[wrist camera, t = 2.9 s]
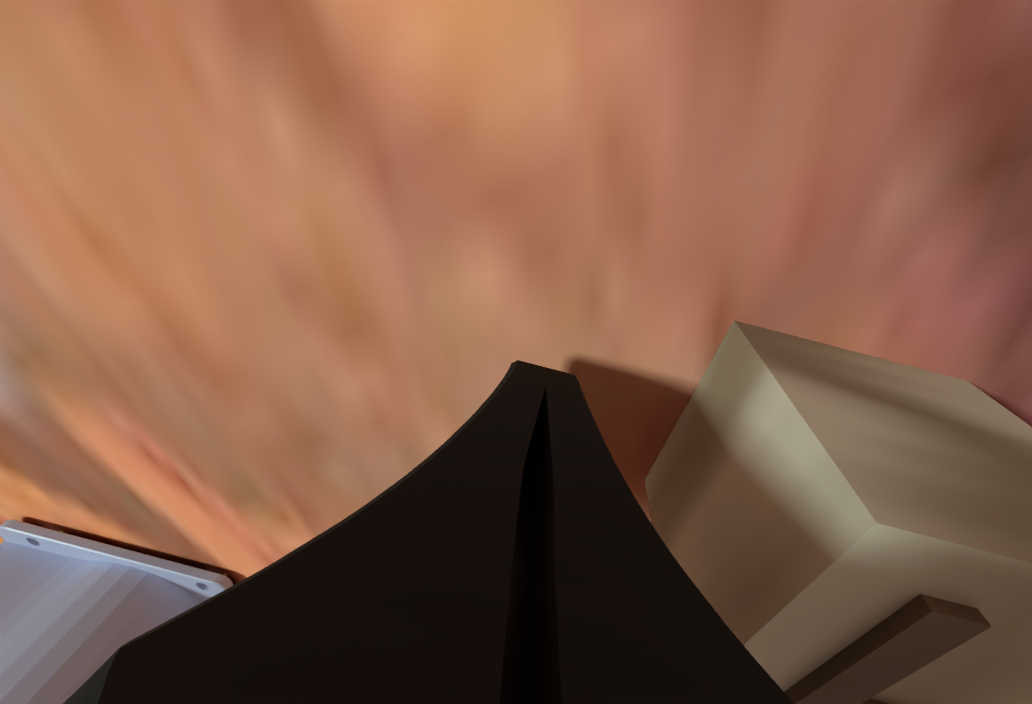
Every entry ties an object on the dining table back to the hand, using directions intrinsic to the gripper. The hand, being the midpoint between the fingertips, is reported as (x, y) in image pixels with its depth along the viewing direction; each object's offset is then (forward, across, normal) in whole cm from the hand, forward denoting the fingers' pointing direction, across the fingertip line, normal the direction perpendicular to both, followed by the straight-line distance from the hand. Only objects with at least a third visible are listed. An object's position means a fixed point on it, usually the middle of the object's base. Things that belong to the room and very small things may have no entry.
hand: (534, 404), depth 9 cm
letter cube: (+1, -6, 0) cm, 6 cm away
